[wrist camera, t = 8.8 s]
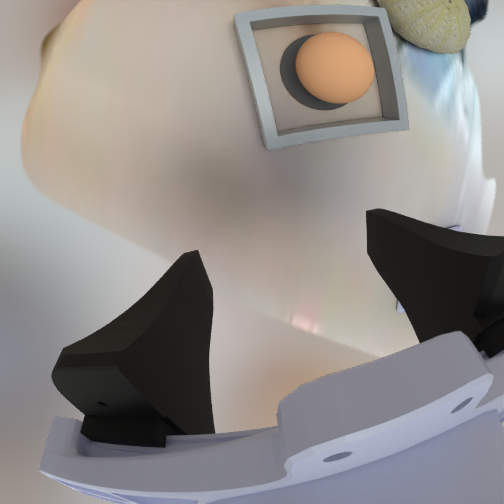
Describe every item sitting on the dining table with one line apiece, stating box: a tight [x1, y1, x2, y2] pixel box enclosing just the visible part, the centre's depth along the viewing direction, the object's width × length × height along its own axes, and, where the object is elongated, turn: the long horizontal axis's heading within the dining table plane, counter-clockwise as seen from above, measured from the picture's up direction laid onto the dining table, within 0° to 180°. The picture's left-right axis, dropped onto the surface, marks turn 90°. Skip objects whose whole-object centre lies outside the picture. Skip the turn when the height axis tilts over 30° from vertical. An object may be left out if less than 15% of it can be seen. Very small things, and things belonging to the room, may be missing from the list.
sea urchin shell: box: [377, 0, 471, 54], centre depth 11 cm, size 9×8×8 cm
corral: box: [233, 5, 409, 151], centre depth 15 cm, size 10×11×2 cm
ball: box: [296, 32, 374, 104], centre depth 14 cm, size 5×5×5 cm
